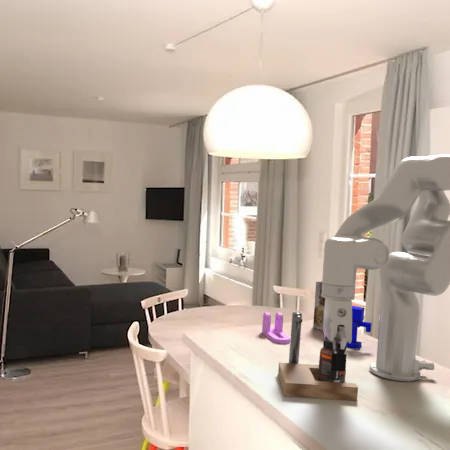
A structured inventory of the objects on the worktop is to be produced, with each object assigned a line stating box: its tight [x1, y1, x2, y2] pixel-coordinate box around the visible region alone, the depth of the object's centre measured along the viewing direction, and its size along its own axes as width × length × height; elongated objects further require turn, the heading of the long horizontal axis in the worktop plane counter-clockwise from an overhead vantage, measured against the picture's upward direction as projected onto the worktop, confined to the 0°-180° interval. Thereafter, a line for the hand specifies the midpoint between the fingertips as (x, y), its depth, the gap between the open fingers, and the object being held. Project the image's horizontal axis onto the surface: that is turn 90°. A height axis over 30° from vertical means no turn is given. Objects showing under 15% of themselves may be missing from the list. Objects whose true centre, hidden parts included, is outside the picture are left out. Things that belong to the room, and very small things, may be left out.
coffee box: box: [312, 281, 325, 331], centre depth 175 cm, size 9×6×16 cm
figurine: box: [346, 305, 372, 350], centre depth 156 cm, size 8×8×12 cm
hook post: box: [288, 311, 303, 364], centre depth 128 cm, size 4×6×15 cm, turn 0°
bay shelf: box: [277, 361, 359, 402], centre depth 120 cm, size 16×14×3 cm
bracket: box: [261, 312, 291, 345], centre depth 161 cm, size 13×6×7 cm, turn 14°
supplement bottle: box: [317, 338, 345, 383], centre depth 120 cm, size 6×6×11 cm
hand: (333, 363), depth 120 cm, fingers open, 9 cm apart
